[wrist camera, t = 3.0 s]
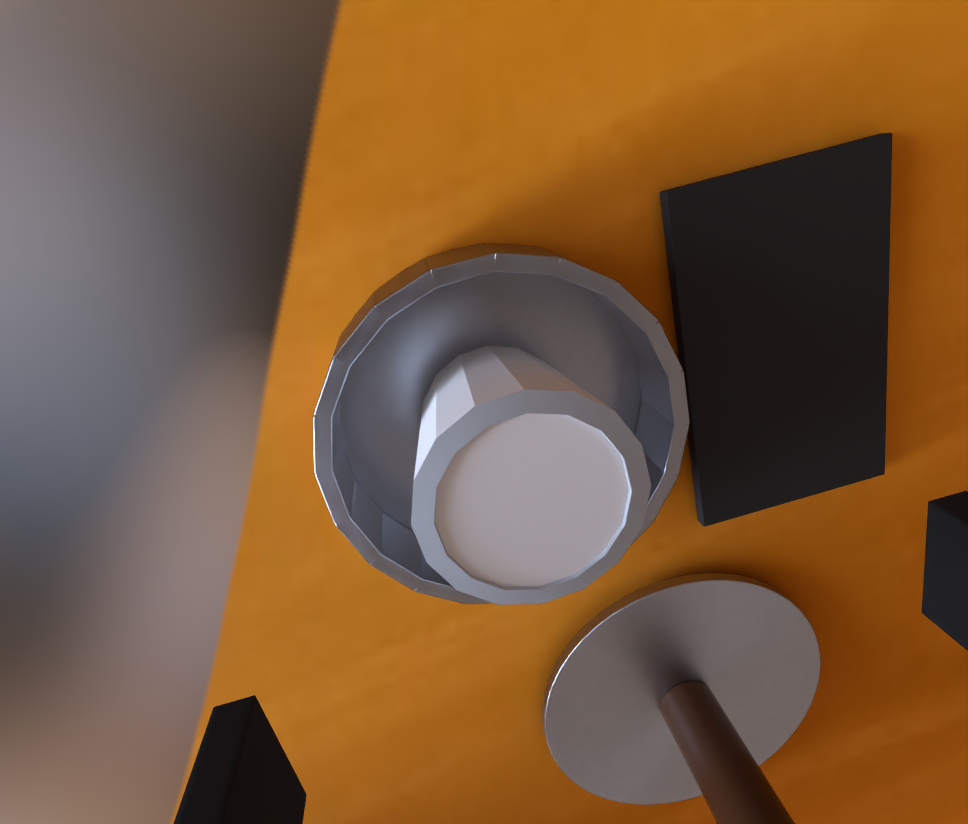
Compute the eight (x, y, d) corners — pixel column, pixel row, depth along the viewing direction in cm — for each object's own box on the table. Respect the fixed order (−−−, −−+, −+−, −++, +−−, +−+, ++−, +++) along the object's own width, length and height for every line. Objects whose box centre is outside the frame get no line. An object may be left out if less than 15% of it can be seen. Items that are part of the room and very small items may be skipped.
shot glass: (608, 442, 24) (686, 537, 18) (459, 524, 25) (484, 645, 18) (533, 293, 22) (593, 341, 15) (369, 387, 22) (359, 472, 16)
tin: (381, 589, 26) (380, 644, 23) (272, 296, 21) (252, 316, 18) (668, 506, 26) (704, 548, 23) (626, 203, 21) (665, 206, 18)
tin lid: (566, 814, 32) (622, 1014, 24) (511, 614, 27) (560, 789, 19) (809, 738, 33) (938, 910, 25) (801, 529, 28) (961, 665, 20)
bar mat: (697, 520, 27) (704, 527, 26) (658, 191, 21) (666, 191, 21) (874, 468, 27) (885, 474, 26) (880, 133, 22) (892, 132, 21)
